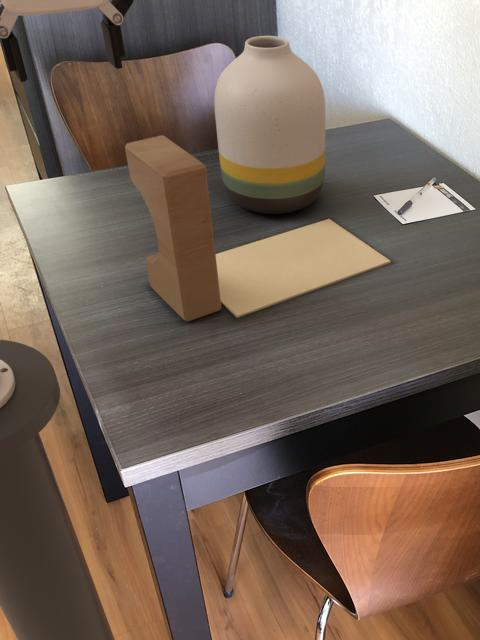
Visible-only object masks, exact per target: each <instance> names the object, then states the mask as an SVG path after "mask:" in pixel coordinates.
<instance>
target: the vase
mask: <svg viewBox="0 0 480 640" xmlns="http://www.w3.org/2000/svg"><path fill="white" fill-rule="evenodd" d="M213 103H214V104H213V105H214V119H215V127H216V128H215V129H216V137H217V147H218V156H219V165H220V174H221V180H222V184H223V186H224V189H225V192H227V195H228V196H229V198H230V199H231V200H232V201H233V202H234V204H236V205H237V206H239V207H240V208H242V209H245V210H247V211H249V212H253V213H258V214H264V215H282V214H288V213H294V212H297V211H300V210H302V209H305V208H306V207H308V206H309V205H311V204H313V202H315V201H316V200H317V198H318V197H319V195H320V193H321V191H322V188H323V185H324V181H325V173H326V97H325V92H324V88H323V85H322V82H321V80H320V78H319V76H318V74H317V72H316V71H315V70H314V69H313V67H311V66H310V64H308V62H306V61H304V60H303V59H302V58H300V57H299V56H298V55H297V54H295V53H294V51H292V48H291V45H290V41H289V40H288V39H287V38H284V37H282V36H277V35H258V36H252V37H250V38H248V39H246V40H245V42H244V49H243V51H242V52H241V53H240V54H239V55H238V56H237V57H236V58H235V59H233V60H232V61H231V62H230V63H229V64H228V65H227V66H226V67H225V68H224V69H223V71H222V72H221V73H220V75H219V77H218V79H217V83H216V86H215V89H214V100H213Z"/></svg>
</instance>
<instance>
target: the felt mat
mask: <svg viewBox="0 0 480 640" xmlns="http://www.w3.org/2000/svg"><path fill="white" fill-rule="evenodd" d="M215 254H216V263H217V272H218V281H219V290H220V299H221V305H222V306H224V307H225V308H226V309H227V310H228V311H229V312H230V313H231V314H232V315H233V316H234V317H235V318H236V319H237V318H241V317H243V316H246V315H249V314H251V313H255V312H257V311H260V310H262V309H266V308H268V307H271V306H275V305H277V304H281V303H282V302H285V301H288V300H291V299H293V298H296V297H299V296H303V295H305V294H308V293H310V292H314V291H316V290H319V289H321V288H324V287H327V286H330V285H333V284H335V283H338V282H341V281H344V280H346V279H349V278H352V277H355V276H358V275H360V274H363V273H366V272H368V271H371V270H375V269H377V268H380V267H383V266H385V265H388V264H391V260H390V259H389V258H387V257H386V256H384V255H383V254H381V253H380V252H378V251H377V250H375V249H374V248H373V247H371V246H369V245H368V244H366V242H364V241H362V240H361V239H360V238H358V237H357V236H355V235H354V234H353V233H351V232H349V231H348V230H347V229H345V228H343V227H342V226H340V225H339V224H337V223H336V222H335V221H333V220H332V219H330V218H327V219H324V220H321V221H316V222H315V223H314V222H313V223H311V224H308V225H304V226H301V227H298V228H295V229H292V230H289V231H285V232H282V233H279V234H276V235H272V236H270V237H266V238H262V239H259V240H256V241H253V242H250V243H247V244H244V245H240V246H237V247H233V248H232V249H227V250H224V251H221V252H218V253H215Z"/></svg>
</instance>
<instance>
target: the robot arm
mask: <svg viewBox="0 0 480 640" xmlns="http://www.w3.org/2000/svg"><path fill="white" fill-rule="evenodd" d="M133 4H134V0H111V1H110V0H0V47H1V51H2V54H3V59H4V62H5V65H6V68H7V70H8V72H10V73H11V72H14V74H15V76H16V77H17V79H18V81H19V82H20V83H25V82H27V81H29V78H28V74H27V70H26V67H25V66H26V65H25V63H24V59H23V55H22V51H21V47H20V44H19V39H18V38H17V36H16V35H15V34H14V33H13V29H14V27H15V24H16V22H17V20H18V18H19V16H21V17H23V16H24V17H28V16H29V17H30V16H31V17H32V16H42V15H50V14H61V13H70V12H78V11H87V10H94V9H98V10H99V12H101V13H102V17H103V18H102V19H101V21H100V25H101V32H102V36H103V42H104V47H105V53H106V58H107V61H108V63H109V64H110V65H111V66H113V67H114V68H115V69H117V70H121V69H123V62H122V58H123V57H124V58H125V57H126V51H125V46H124V45H125V44H124V39H123V33H122V27H121V26H122V24H123V22H124V18H125V16H126V14H127V13H128V11H129V10H130V9H131V7H132V5H133ZM15 385H16V383H15V377H14V374H13V372H12V369H11V368H10V367H9V365H8V364H6V363H5V362H4V361H2V360H0V408H1V407H2V406H3V405H5V404H6V402H7V401H8V400H9V399H10V397H11V396H12V394H13V392H14V390H15Z"/></svg>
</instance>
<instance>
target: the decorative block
mask: <svg viewBox="0 0 480 640" xmlns="http://www.w3.org/2000/svg"><path fill="white" fill-rule="evenodd" d="M124 150H125V156H126V161H127V166H128V173H129V178H130V181H131V182H132V184H133V185H134V186H135V187H136V189H137V190H138V192H139V193H140V195H141V197H142V199H143V201H144V202H145V205H146V207H147V209H148V212H149V215H150V217H151V220H152V222H153V224H154V229H155V234H156V237H157V247H158V252H157V253H154V254H151V255H147V256H146V257H145V264H146V265H145V266H146V269H147V275H148V281H149V286H150V288H152V290H153V291H154V292H155V293H156V294H157V295H158V296H159V297H160V298H161V299H162V300H163V301H164V302H165V303H166V304H167V305H168V307H170V308H171V309H172V310H173V311H174V312H175V313H176V314H177V315H178V316H179V317H180V318H181V319H182V320H183V321H184V322H186V323H189V322H192V321H194V320H197V319H200V318H203V317H206V316H208V315H211V314H214V313H217V312H220V311H221V310H222V303H221V299H220V290H219V281H218V272H217V263H216V254H217V253H216V247H215V237H214V236H215V235H214V228H213V217H212V209H211V200H210V192H209V191H210V190H209V183H208V173H207V165H205V164H204V163H202V162H201V161H200V160H199V159H198V158H196V157H194V156H193V155H192V154H190V153H189V152H187V151H186V150H185V149H184V148H182V147H181V146H179V145H178V144H176V143H175V142H173V141H172V140H170V139H169V138H168V137H167V136H165V135H164V134H161V135H157V136H152V137H148V138H144V139H140V140H135V141H131V142H127V143H126V144H125V146H124Z"/></svg>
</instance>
